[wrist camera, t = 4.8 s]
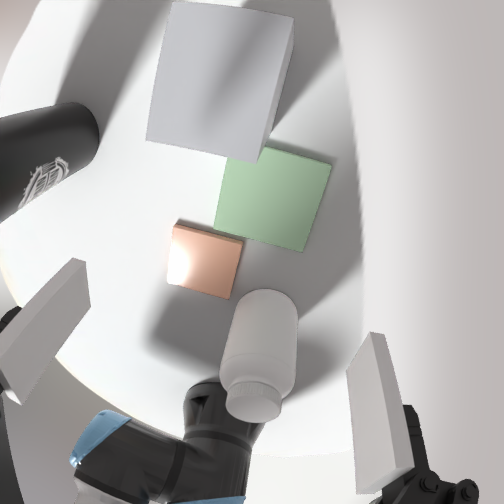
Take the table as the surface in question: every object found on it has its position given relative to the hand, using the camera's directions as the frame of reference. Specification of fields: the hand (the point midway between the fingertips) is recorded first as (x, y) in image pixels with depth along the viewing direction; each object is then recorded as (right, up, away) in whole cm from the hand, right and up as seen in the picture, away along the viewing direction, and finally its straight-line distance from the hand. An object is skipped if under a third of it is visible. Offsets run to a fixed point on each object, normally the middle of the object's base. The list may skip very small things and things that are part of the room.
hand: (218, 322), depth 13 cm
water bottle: (-20, +17, +18) cm, 32 cm away
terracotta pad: (-4, +2, +24) cm, 24 cm away
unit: (+1, +19, +13) cm, 23 cm away
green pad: (+3, +9, +19) cm, 21 cm away
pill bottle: (+3, -4, +27) cm, 27 cm away
